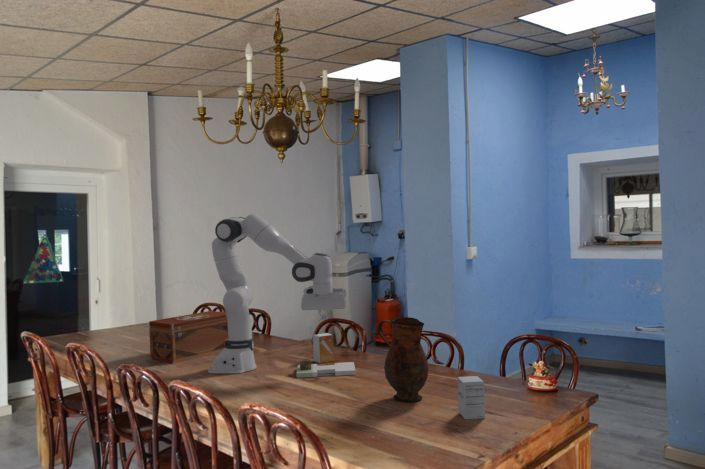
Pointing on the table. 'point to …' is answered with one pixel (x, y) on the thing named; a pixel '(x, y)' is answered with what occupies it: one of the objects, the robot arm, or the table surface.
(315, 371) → the trap lane
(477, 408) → the supplement box
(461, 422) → the table surface
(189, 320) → the wooden box
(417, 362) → the pitcher
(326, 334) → the small box
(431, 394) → the table surface
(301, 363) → the walnut block
